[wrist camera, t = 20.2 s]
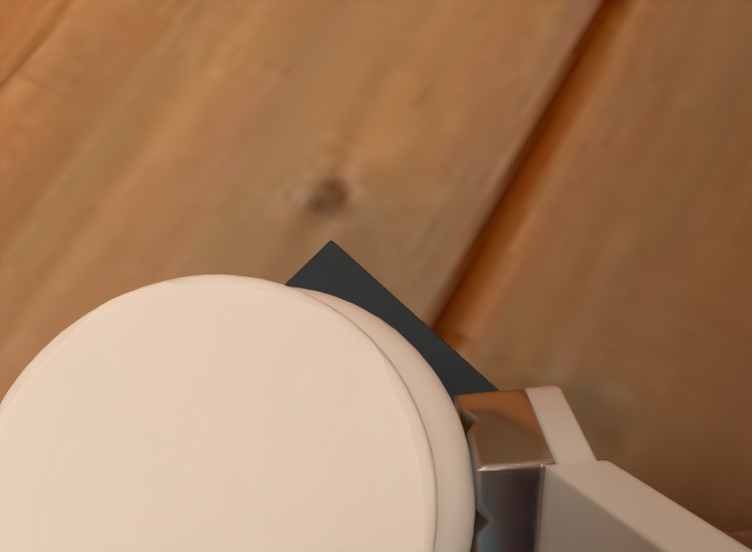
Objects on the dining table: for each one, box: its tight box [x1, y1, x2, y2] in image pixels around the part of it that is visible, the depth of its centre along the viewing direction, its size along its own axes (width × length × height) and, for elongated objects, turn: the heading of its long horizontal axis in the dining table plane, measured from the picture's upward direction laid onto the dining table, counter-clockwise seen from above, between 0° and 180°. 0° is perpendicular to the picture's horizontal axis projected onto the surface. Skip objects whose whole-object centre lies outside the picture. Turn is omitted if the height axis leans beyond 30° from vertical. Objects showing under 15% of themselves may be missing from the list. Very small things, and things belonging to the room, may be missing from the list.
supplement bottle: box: [0, 275, 475, 552], centre depth 10 cm, size 5×5×10 cm
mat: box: [285, 241, 499, 552], centre depth 18 cm, size 10×10×1 cm
